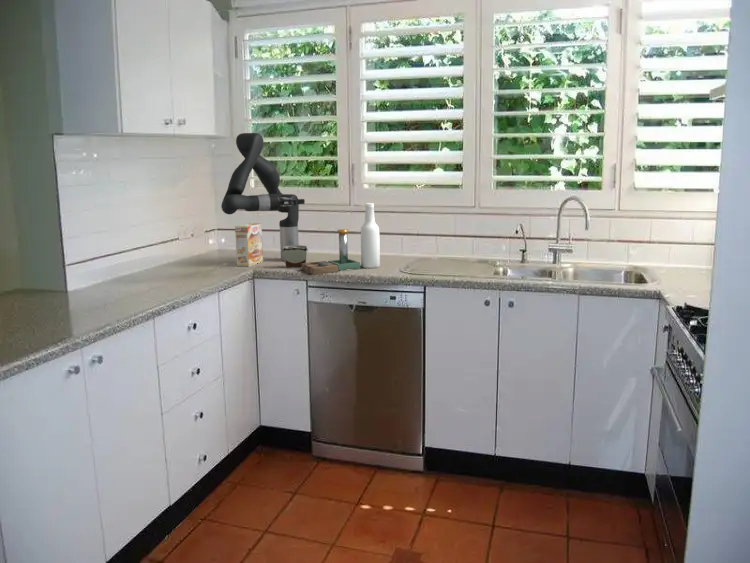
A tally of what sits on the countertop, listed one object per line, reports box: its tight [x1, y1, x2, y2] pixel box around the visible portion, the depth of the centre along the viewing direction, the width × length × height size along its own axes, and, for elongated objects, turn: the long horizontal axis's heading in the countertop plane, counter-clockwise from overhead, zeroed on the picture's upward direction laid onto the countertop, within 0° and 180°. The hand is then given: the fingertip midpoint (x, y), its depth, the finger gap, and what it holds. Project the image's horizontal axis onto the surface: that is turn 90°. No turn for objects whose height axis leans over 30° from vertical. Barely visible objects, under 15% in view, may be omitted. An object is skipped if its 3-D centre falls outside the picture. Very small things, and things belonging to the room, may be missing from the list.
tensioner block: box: [301, 260, 339, 275], centre depth 309 cm, size 15×12×4 cm
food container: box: [282, 244, 309, 269], centre depth 321 cm, size 12×6×10 cm, turn 84°
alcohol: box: [360, 202, 381, 269], centre depth 315 cm, size 9×9×30 cm
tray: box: [327, 258, 361, 271], centre depth 316 cm, size 12×11×3 cm
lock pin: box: [336, 228, 350, 264], centre depth 315 cm, size 5×5×17 cm
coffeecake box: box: [234, 222, 264, 267], centre depth 330 cm, size 15×7×20 cm, turn 161°
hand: (301, 200), depth 308 cm, fingers open, 8 cm apart
